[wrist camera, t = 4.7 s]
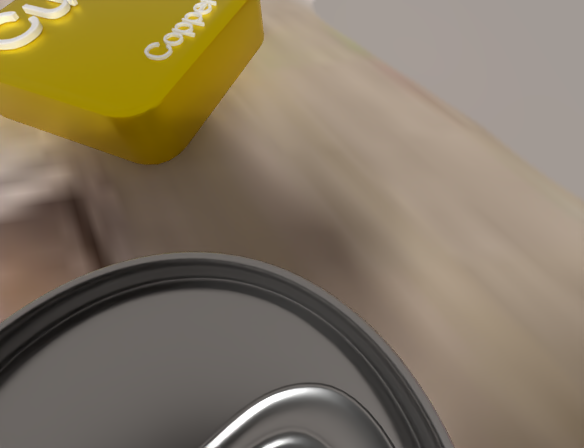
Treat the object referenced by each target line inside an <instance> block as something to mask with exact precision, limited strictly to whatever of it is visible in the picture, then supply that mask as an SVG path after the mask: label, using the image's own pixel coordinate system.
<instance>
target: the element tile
mask: <svg viewBox="0 0 584 448" xmlns="http://www.w3.org/2000/svg"><path fill="white" fill-rule="evenodd" d="M263 40H264V31H263V23H262V14H261V5H260V0H15V1H13V2H12V3H10V4H9V5H7V6H6V7H5V8H3V9H2V10H0V114H1V115H2V116H4V117H6V118H9V119H12V120H15V121H17V122H20V123H23V124H26V125H29V126H32V127H35V128H37V129H40V130H43V131H46V132H49V133H52V134H55V135H57V136H60V137H63V138H66V139H69V140H72V141H75V142H78V143H80V144H83V145H86V146H89V147H92V148H95V149H98V150H100V151H103V152H106V153H109V154H112V155H115V156H118V157H120V158H123V159H126V160H129V161H132V162H135V163H139V164H144V165H151V164H160V163H163V162H166V161H169V160H171V159H172V158H174V157H175V156H177V155H178V154H180V153H181V152H182V151H183V150H184V149H185V147H186V146H187V145H188V144H189V142H190V141H191V140H192V138H193V137H194V136H195V134H196V133H197V132H198V130H199V129H200V128H201V126H202V125H203V123H204V122H205V121H206V119H207V118H208V117H209V115H210V114H211V113H212V111H213V110H214V109H215V107H216V106H217V104H218V103H219V102H220V100H221V99H222V98H223V96H224V95H225V94H226V92H227V91H228V90H229V88H230V87H231V86H232V84H233V83H234V81H235V80H236V79H237V77H238V76H239V75H240V73H241V72H242V71H243V69H244V68H245V67H246V65H247V64H248V62H249V61H250V60H251V58H252V57H253V56H254V54H255V53H256V52H257V50H258V49H259V48H260V46H261V45H262V42H263Z"/></svg>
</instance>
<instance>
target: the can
mask: <svg viewBox="0 0 584 448" xmlns="http://www.w3.org/2000/svg"><path fill="white" fill-rule="evenodd" d="M0 448H455V447H454V445H453V443H452V441H451V438H450V436H449V434H448V432H447V430H446V428H445V427H444V425H443V423H442V421H441V419H440V417H439V415H438V414H437V412H436V410H435V408H434V407H433V405H432V403H431V402H430V400H429V398H428V397H427V395H426V394H425V392H424V390H423V389H422V387H421V386H420V384H419V383H418V382H417V380H416V379H415V377H414V376H413V374H412V373H411V372H410V370H409V369H408V368H407V366H406V365H405V364H404V362H403V361H402V360H401V359H400V357H399V356H398V355H397V354H396V352H395V351H394V350H393V349H392V348H391V347H390V345H389V344H388V343H387V342H386V341H385V340H384V339H383V338H382V337H381V336H380V335H379V334H378V333H377V332H376V331H375V330H374V329H373V328H372V327H371V326H370V325H369V324H368V323H367V322H366V321H365V320H364V319H363V318H362V317H360V316H359V315H358V314H357V313H356V312H355V311H353V310H352V309H351V308H350V307H348V306H347V305H346V304H345V303H343V302H342V301H341V300H339V299H338V298H336V297H335V296H333V295H332V294H331V293H329V292H327V291H326V290H324V289H323V288H321V287H319V286H318V285H316V284H314V283H312V282H311V281H309V280H307V279H305V278H303V277H301V276H299V275H297V274H295V273H292V272H290V271H288V270H285V269H283V268H280V267H278V266H275V265H272V264H269V263H266V262H262V261H259V260H255V259H251V258H247V257H242V256H237V255H231V254H224V253H214V252H175V253H164V254H157V255H151V256H145V257H140V258H135V259H131V260H127V261H123V262H120V263H116V264H113V265H110V266H107V267H104V268H101V269H98V270H95V271H93V272H90V273H88V274H85V275H83V276H80V277H78V278H76V279H74V280H71V281H69V282H67V283H65V284H63V285H61V286H59V287H57V288H55V289H53V290H52V291H50V292H48V293H46V294H44V295H43V296H41V297H39V298H37V299H36V300H34V301H32V302H31V303H29V304H28V305H26V306H25V307H23V308H21V309H20V310H18V311H17V312H15V313H14V314H13V315H11V316H10V317H8V318H7V319H5V320H4V321H3V322H1V323H0Z"/></svg>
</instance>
